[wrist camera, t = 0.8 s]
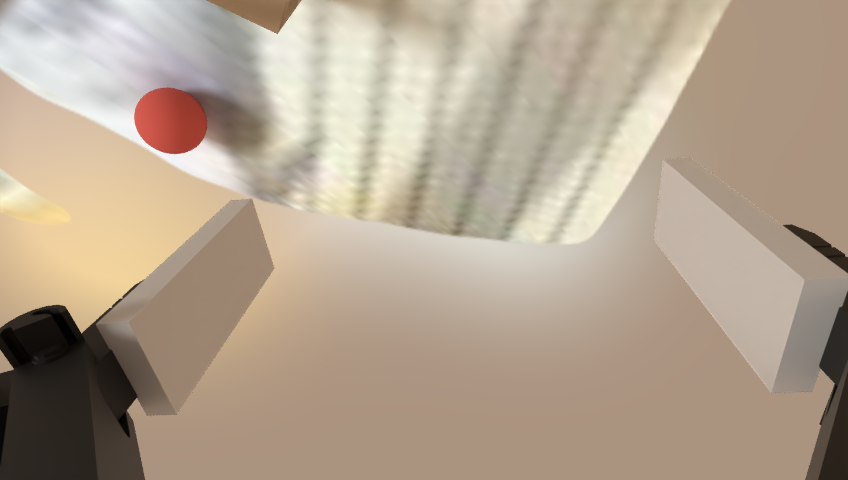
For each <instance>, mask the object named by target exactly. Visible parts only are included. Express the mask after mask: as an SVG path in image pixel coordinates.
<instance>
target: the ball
mask: <svg viewBox="0 0 848 480" xmlns="http://www.w3.org/2000/svg"><path fill="white" fill-rule="evenodd" d="M134 120H135V125H136V128H137V131H138V133H139V134H140V136H141V137H142V139H143V140H144V141H145V142H146V143H147V144H149V145H150V146H151V147H153V148H155V149H156V150H159V151H161V152H164V153H170V154H180V153H185V152H188V151H190V150H192V149H194V148H195V147H197V146H198V145H199V144H200V143H201V141H202V140H203V138H204V136H205V134H206V130H207V119H206V115H205V112H204V110H203V108H202V107H201V105H200V104H199V103H198V102H197V101H196V99H194V98H193V97H192V96H191V95H189V94H187V93H185V92H183V91H181V90H178V89H174V88H160V89H155V90H153V91H151V92H149V93H147V94H146V95H144V96H143V97H142V98H141V99H140V101H139V102H138V104H137V106H136V109H135V114H134Z"/></svg>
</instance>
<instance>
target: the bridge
mask: <svg viewBox="0 0 848 480" xmlns="http://www.w3.org/2000/svg"><path fill="white" fill-rule="evenodd" d="M207 1H209V2H211V3H214V4H216V5H218V6H220V7H222V8H224V9H226V10H228V11H230V12H232V13H235V14H237V15H239V16H241V17H243V18H245V19H247V20H249V21H251V22H253V23H256V24H258V25H260V26H262V27H264V28H266V29H268V30H270V31H272V32H274V33H277V34H278V32H279V31H280V30H281V28H282V27H283V25H284V24H285V23H286V21H287V20H288V18H289V17H290V16H291V14H292V13H293V11H294V10H295V9H296V7H297V6H298V4H299V3H300V2H301V0H207Z"/></svg>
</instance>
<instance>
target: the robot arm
mask: <svg viewBox="0 0 848 480" xmlns="http://www.w3.org/2000/svg"><path fill="white" fill-rule="evenodd" d="M654 241H655V242H656V243H657V245H658V246H659V247H660V248H661V250H662V251H663V252H664V253H665V255H666V256H667V258H668V259H669V260H670V262H671V263H672V264H673V265H674V267H675V268H676V269H677V271H678V272H679V273H680V275H681V276H682V277H683V278H684V280H685V281H686V282H687V284H688V285H689V286H690V288H691V289H692V290H693V291H694V293H695V294H696V296H697V297H698V298H699V299H700V301H701V302H702V303H703V305H704V306H705V307H706V309H708V311H709V312H710V314H711V315H712V316H713V318H714V319H715V320H716V322H717V323H718V324H719V325H720V327H721V328H722V329H723V331H724V332H725V333H726V335H727V336H728V337H729V339H730V340H731V341H732V342H733V344H734V345H735V346H736V348H737V349H738V350H739V352H740V353H741V354H742V355H743V357H744V358H745V360H746V361H747V362H748V363H749V364H750V366H751V367H752V369H753V370H754V371H755V373H756V374H757V375H758V376H759V378H760V379H761V380H762V382H763V383H764V384H765V386H766V387H767V388H768V390H769V391H770V392H771V393H791V392H812V391H813V388H814V385H815V382H816V379H817V377H818V373H819V371H820V368H821V369H822V370H823V371H824V373H825V374H826V375H827V376H829V378H830V379H831V380H832V381H833V382H834V383H835V384H834V387H833V390H832V392H831V395H830V398H829V400H828V403H827V406H826V408H825V411H824V414H823V416H822V419H821V422H820V425H821V428H820V432H819V435H818V439H817V442H816V445H815V449H814V452H813V455H812V459H811V463H810V466H809V469H808V472H807V476H806V479H805V480H848V257H845V254H844V253H842V252H841V251H839V250H838V249H836V248H835V247H833V248H832V247H831V244H829V243H828V242H826V241H825V240H823V239H822V238H821V237H819V236H818V235H816V234H815V233H812V232H809V231H807V230H804V229H802V228H799V227H796V226H794V225H781V224H780V223H779V222H777V221H776V220H775V219H773V218H772V217H770V216H769V215H768V214H766V213H765V212H763V211H762V210H761V209H760V208H758V207H757V206H756V205H754V204H753V203H751V202H750V201H749V200H747V199H746V198H745V197H743V196H742V195H741V194H739V193H738V192H737V191H735V190H734V189H732V188H731V187H730V186H728V185H727V184H726V183H724V182H723V181H722V180H720V179H719V178H718V177H716V176H715V175H714V174H712V173H711V172H709V171H708V170H707V169H705V168H704V167H702V166H701V165H700V164H699V163H697V162H696V161H694V160H693V159H692V158H690V157H686V158H676V159H665V160H663V166H662V174H661V182H660V192H659V201H658V209H657V218H656V227H655V235H654ZM273 270H274V266H273V262H272V259H271V256H270V253H269V250H268V247H267V244H266V241H265V238H264V234H263V231H262V228H261V225H260V222H259V219H258V216H257V213H256V210H255V207H254V203H253V200H252V199H241V200H231V201H230V202H228V203H227V204H226V205H225V206H224V207H223V208H222V209H221V210H220V211H219V212H218V213H216V214H215V216H213V217H212V218H211V219H210V220H209V221H208V222H207V223H205V224H204V225H203V226H202V227H201V228H200V229H199V230H198V231H197V232H196V233H195V234H194V235H192V236H191V237H190V238H189V239H188V240H187V241H186V242H185V243H184V244H183V245H182V246H181V247H179V248H178V249H177V250H176V251H175V252H174V253H173V254H172V255H171V256H170V257H168V258H167V259H166V260H165V261H164V262H163V263H162V264H161V265H160V266H159V267H158V268H157V269H155V270H154V271H153V272H152V273H151V274H150V275H149V276H148V277H147V278H146V279H144V280H142V281H141V282H139V283H138V284H136V285H135V286H133V287H132V288H131V289H130V290H129V291H128V292H127V293H126V294H125V295H124V296H123V298H122V299H119V300H118V301H117V302H116V303H115V304H113V306H112V308H109V309H108V310H107V311H106V312H105V313H104V314H102V315H101V316H100V317H99V318H98V319H97V320H96V321H95V322H94V323H93V324H92V325H90V326H89V327H88V328H87V329H86V330H85V331H84V332H83V333H82V334H81V332H80V330H79V329H78V327H77V325H76V324H75V322H74V320H73V319H72V317H71V315H70V313H69V312H68V310H67V309H66V307H65V306H61V305H52V306H46V307H42V308H39V309H35V310H32V311H30V312H27V313H25V314H23V315H20V316H18V317H16V318H15V319H13V320H11V321H10V322H8V323H6V324H5V325H4V326H2V327H1V328H0V350H1V351H2V353H3V354H4V355H5V357H6V358H7V359H8V361H9V362H10V364H11V365H12V366H13V368H14V370H11V371H7V372H4V373H0V480H145V477H144V473H143V467H142V462H141V458H140V453H139V448H138V443H137V438H136V433H135V428H134V423H133V420H132V419H131V417H130V415H129V413H128V412H127V409H128V408H129V407H130V405H131V404H132V403H133V402H134V400H135V399H136V398H138V400H139V402H140V404H141V406H142V407H143V409H144V411H145V413H146V415H147V416H151V415H177V413H178V412H179V410H180V409H181V407H182V406H183V404H184V403H185V401H186V400H187V398H188V397H189V395H190V394H191V392H192V391H193V389H194V387H195V386H196V385H197V383H198V382H199V380H200V379H201V377H202V376H203V374H204V373H205V371H206V370H207V368H208V367H209V365H210V364H211V362H212V361H213V359H214V358H215V356H216V355H217V353H218V352H219V350H220V349H221V347H222V346H223V344H224V343H225V342H226V340H227V338H228V337H229V336H230V334H231V332H232V331H233V330H234V328H235V327H236V325H237V323H238V322H239V321H240V319H241V317H242V316H243V314H244V313H245V312H246V310H247V308H248V307H249V305H250V304H251V302H252V301H253V300H254V298H255V297H256V295H257V294H258V292H259V291H260V289H261V288H262V286H263V285H264V283H265V282H266V280H267V279H268V277H269V276H270V274H271V272H272V271H273Z"/></svg>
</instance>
